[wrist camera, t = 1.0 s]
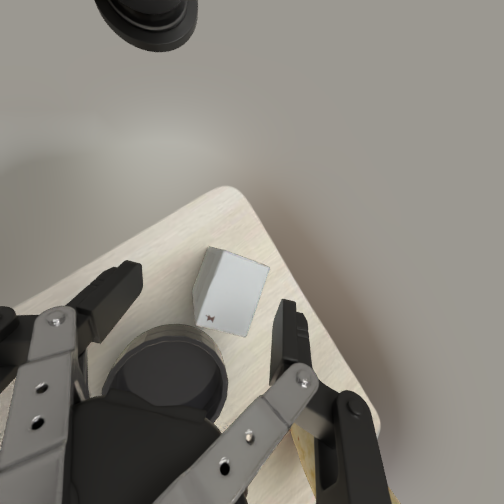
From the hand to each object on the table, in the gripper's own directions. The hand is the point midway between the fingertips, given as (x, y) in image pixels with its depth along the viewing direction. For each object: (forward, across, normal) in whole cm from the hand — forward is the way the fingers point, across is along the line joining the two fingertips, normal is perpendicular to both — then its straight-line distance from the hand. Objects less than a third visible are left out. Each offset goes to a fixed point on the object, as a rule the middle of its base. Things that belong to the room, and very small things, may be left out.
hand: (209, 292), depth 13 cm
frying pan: (+5, +4, +20) cm, 21 cm away
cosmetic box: (+13, +2, +9) cm, 16 cm away
